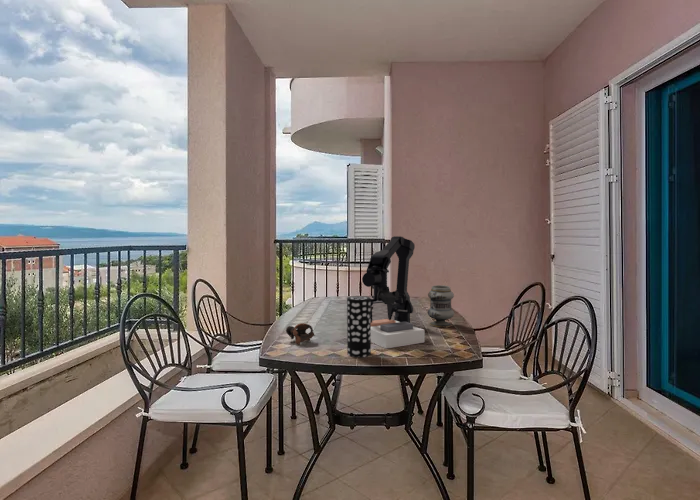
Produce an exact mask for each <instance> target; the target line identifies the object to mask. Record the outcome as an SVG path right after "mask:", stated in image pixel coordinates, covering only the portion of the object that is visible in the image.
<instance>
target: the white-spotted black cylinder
mask: <svg viewBox="0 0 700 500" xmlns="http://www.w3.org/2000/svg"><path fill="white" fill-rule="evenodd" d="M370 299H371V297H369V296H359V295H358V296H356V295H355V296H354V295H353V296H349V297H347V298H346V304H347V305H346V314H347V315H346V316H347V317H346V321H347V322H346V324H347V325H346V327H347V329H346V331H347V333H346V334H347V335H346V337H347V339H346V342H347V344H346V345H347V346H346V347H347V355H348V356H349V357H354V358H365V357H369V356H371V354H372V353H371V352H372V350H371V349H372V347H371V344H372V342H371V303H370Z"/></svg>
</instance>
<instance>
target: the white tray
mask: <svg viewBox="0 0 700 500" xmlns="http://www.w3.org/2000/svg"><path fill="white" fill-rule="evenodd" d="M395 321H396V320H395ZM398 322H399V321H396V323H398ZM374 343H375V344H374ZM422 343H425V329H423V328H420V327H417V326H414V325H413V329H410V330H402V331H395V332H388V333H387V332H384V331H381V330H380V325H379V326H371V344H374V345H377V346H379V347H382V348H384V349H391V348H392V349H393V348H398V347H403V346H404V347H405V346H410V345H415V344H422Z"/></svg>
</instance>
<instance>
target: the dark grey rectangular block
mask: <svg viewBox="0 0 700 500" xmlns="http://www.w3.org/2000/svg"><path fill="white" fill-rule="evenodd" d="M413 326H414V323H412V322H410V323H409V322H398V323H390V324H382V325H380V330H381V331H384V332H387V333H388V332H395V331H402V330H410V329H413Z"/></svg>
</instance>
